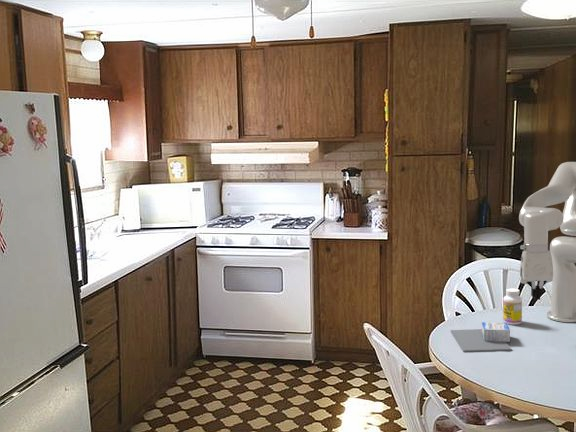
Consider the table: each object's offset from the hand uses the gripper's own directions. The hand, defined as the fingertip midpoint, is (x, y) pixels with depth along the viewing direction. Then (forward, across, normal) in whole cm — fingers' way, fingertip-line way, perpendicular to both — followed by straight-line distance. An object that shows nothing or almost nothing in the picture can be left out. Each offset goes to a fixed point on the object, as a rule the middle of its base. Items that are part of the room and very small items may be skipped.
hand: (536, 298), depth 214 cm
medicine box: (+12, -10, -1) cm, 15 cm away
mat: (+14, -20, -2) cm, 25 cm away
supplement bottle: (+15, -3, +16) cm, 23 cm away
